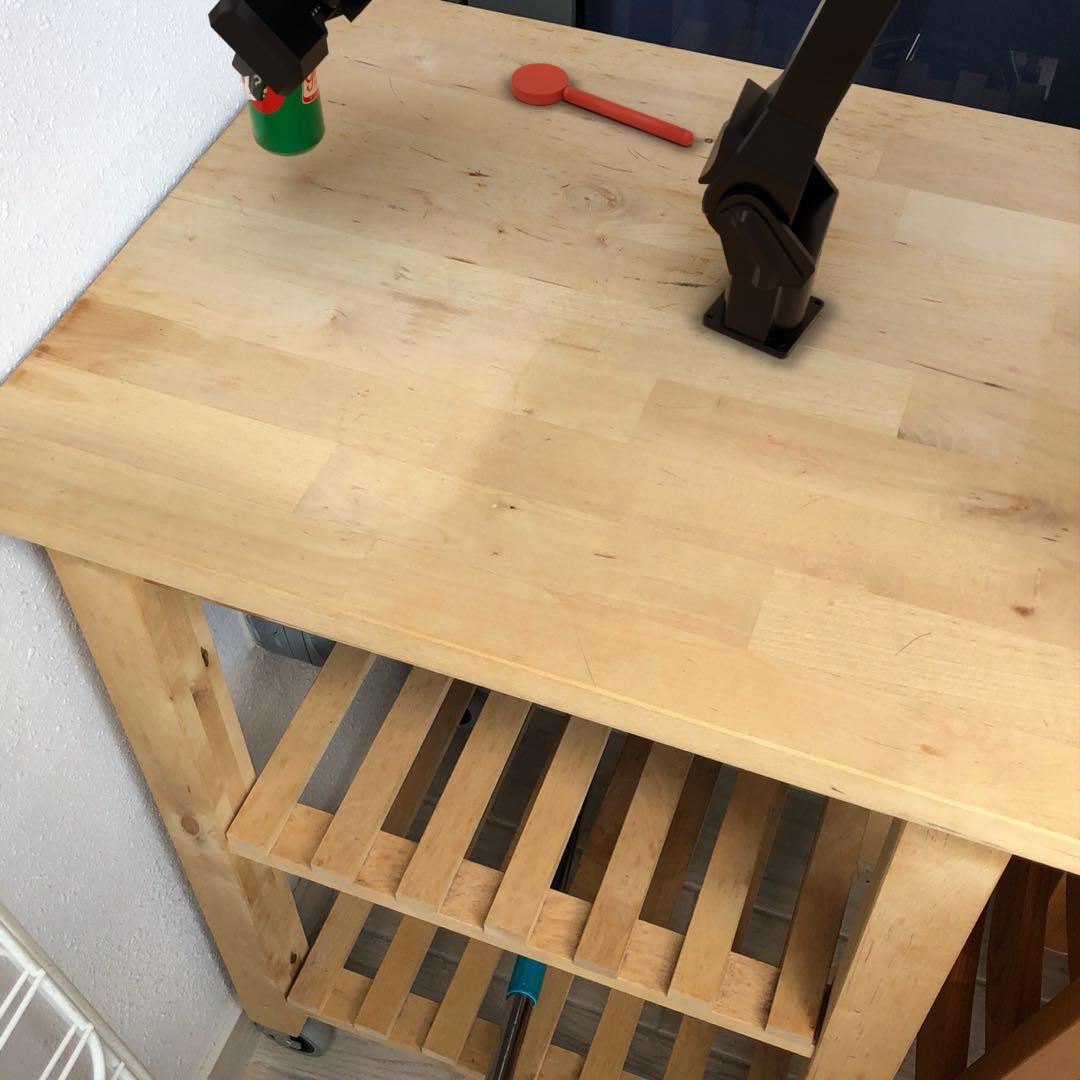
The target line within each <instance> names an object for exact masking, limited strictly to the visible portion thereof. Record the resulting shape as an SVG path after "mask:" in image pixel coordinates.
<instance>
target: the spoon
mask: <svg viewBox="0 0 1080 1080" xmlns="http://www.w3.org/2000/svg"><path fill="white" fill-rule="evenodd" d="M510 81H511V82H510V84H511V85H510V87H511V89H510V90H511V94H512V95H513V96H514V97H515V98H516V99H517V100H519V101H521V102H522V103H526V104H528V105H533V106H547V105H552V104H556V103H558V102H561V101H562V100H563V99H564V100H565V101H566V102H568V103H570V104H573V105H576V106H579V107H581V108H584V109H586V110H589V111H591V112H594V113H597V114H600V115H603V116H605V117H608V118H610V119H613V120H616V121H618V122H621V123H624V124H626V125H628V126H632V127H634V128H636V129H639V130H642V131H644V132H647V133H650V134H653V135H655V136H658V137H661V138H663V139H666V140H668V141H671V142H674V143H676V144H679V145H681V146H684V147H685V146H686V147H687V146H690V145H692V143H694V138H695V136H694V134H693V133H694V132H692V131H691V130H689V129H686V128H684V127H681V126H678V125H676V124H673V123H671V122H668V121H665V120H662V119H660V118H657V117H655V116H652V115H649V114H647V113H644V112H641V111H639V110H635V109H633V108H630V107H628V106H625V105H622V104H620V103H618V102H614V101H611V100H609V99H606V98H604V97H601V96H598V95H595V94H593V93H590V92H588V91H585V90H582V89H580V88H576V87H574V86H572V85H571V86H570V84H569V81H570V79H569V75H568V73H567V72H566V71H565V70H564V69H562V68H561V67H560V66H557V65H554V64H550V63H545V62H533V63H528V64H525V65H522V66H520V67H518V68H516V69H515V70H514V72H513V73H512V74H511V78H510Z"/></svg>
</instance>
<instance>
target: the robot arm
mask: <svg viewBox="0 0 1080 1080" xmlns="http://www.w3.org/2000/svg"><path fill="white" fill-rule="evenodd" d="M902 1H903V0H821V1H820V3H819V4H818V7H817V8H816V10H815V11H814V14H813V15H812V18H811V20H810V21H809V24H808V25H807V27H806V28H805V31H804V33H803V35H802V36H801V38H800V40H799V42H798V44H797V46H796V48H795V50H794V51H793V53H792V56H791V57H790V59H789V61H788V63H787V64H786V66H785V68H784V70H783V71H782V72H781V73H780V75H779V76H777V78H776V79H775V80H774V81H773V82H772V83H771V84H769V86H768V87H767V88H764V87H762V86H761V85H759V84H758V83H757V82H755V80H752V79H751V78H749V77H748V78H746V80H745V82H744V85H743V87H742V89H741V91H740V93H739V96H738V98H737V100H736V102H735V104H734V107H733V109H732V111H731V113H730V116H729V118H728V119H727V120H726V121H725V122H723V123H722V126H721V128H720V130H719V132H718V135H717V136H716V139H715V141H714V144H713V146H712V148H711V150H710V152H709V154H708V157H707V159H706V161H705V164H704V166H703V168H702V170H701V172H700V175H699V177H698V179H697V183H698V184H699V185H707V186H706V188H705V190H704V193H703V196H702V198H701V212H702V214H703V215H705V218H706V220H707V222H708V224H709V226H710V227H711V228H712V229H713V230H714V231H715V232H716V234H717V235H719V239H720V243H721V247H722V251H723V256H724V259H725V262H726V267H727V270H728V271H727V272H728V273H727V279H726V285H725V289H724V290H723V291H722V293H720V295H719V296H718V297H717V298H716V299H715V300H714V302H713V303H712V304H711V305H710V306H709V307H708V308H707V309H706V311H705V312H704V313H703V315H702V319H701V322H702V324H703V325H704V326H706V327H709V328H710V329H712V330H715V331H718V332H720V333H723V334H725V335H727V336H729V337H731V338H734V339H736V340H738V341H740V342H743V343H745V344H747V345H750V346H753V347H755V348H757V349H759V350H761V351H764V352H766V353H769V354H771V355H773V356H776V357H778V358H786V357H788V356H789V354H790V353H791V352H792V351H793V349H794V348H795V347H796V346H797V344H798V343H799V342H800V341H801V339H802V338H803V337H804V335H805V334H806V332H807V331H808V330H809V328H810V327H811V326H812V325H813V323H814V322H815V321H816V320H817V318H818V317H819V316H820V314H821V313H822V312H823V310H824V307H825V301H824V300H823V299H821V298H819V297H816V296H814V295H812V291H813V287H814V284H815V280H816V276H817V272H818V267H819V263H820V258H821V255H822V252H823V250H822V249H823V246H824V243H825V240H826V237H827V234H828V230H829V228H830V224H831V221H832V218H833V215H834V213H835V209H836V206H837V203H838V200H839V197H840V189H838V187H837V186H836V185H835V183H834V181H832V179H831V178H830V176H829V175H828V174H827V173H826V172H825V170H824V169H823V167H822V166H821V165H820V163H819V162H818V161H817V159H816V158H817V155H818V153H819V149H820V148H821V144H822V141H823V139H824V137H825V133H826V130H827V127H828V125H829V124H830V122H831V120H832V119H833V117H834V115H835V113H836V112H837V110H838V108H839V107H840V105H841V103H842V102H843V100H844V98H845V97H846V95H847V93H848V92H849V90H850V88H851V87H852V85H853V83H854V82H855V80H856V78H857V77H858V75H859V73H860V71H861V70H862V68H863V67H864V65H865V63H866V61H867V60H868V58H869V56H870V55H871V53H872V51H873V49H874V48H875V46H876V45H877V43H878V41H879V39H880V38H881V36H882V34H883V33H884V31H885V29H886V28H887V26H888V24H889V22H890V21H891V19H892V18H893V16H894V14H895V12H896V11H897V10H898V8H899V6H900V5H901V2H902ZM371 2H373V0H219V1H217V3H215V5H214V6H213V8H211V10H210V11H209V12H208V13H207V17H208V22H209V26H210V28H211V29H212V30H213V31H214V32H215V33H216V34H217V35H218V36H219V37H220V38H221V39H222V40H223V42H225V43H226V44H227V45H228V47H230V49H232V50H233V52H234V56H233V57H232V58H233V59H232V60H231V66H232V68H233V69H234V70H235V71H236V72H237V73H238V74H239V75H240V76H241V75H242V76H243V77H246V76H254V75H258V76H259V77H260V78H261V79H262V81H263V82H264V83H265V84H266V85H267V86H268V87H269V88H270V89H271V90H272V91H273V92H274V93H275V94H276V95H279V96H284V97H289V96H290V95H291V94H292V93H293V92H294V91H295V90H296V89H297V88H298V87H299V86H300V85H301V84H302V83H303V82H304V81H305V80H306V78H307V77H308V76H309V75H310V74H311V73H312V72H313V71H314V69H315V68H316V69H317V68H318V66H319V65H320V64H321V63H322V62H323V61H324V59H325V58H326V57H327V56H328V55H329V54H330V51H329V45H328V39H327V38H328V37H329V29H328V28H327V26H326V23H327V22H329V21H331V20H334V19H336V18H338V17H342V16H344V17H345V18H346V20H347V21H348V22H349V23H350V24H351V23H353V21H355V20H356V19H357V18H358V17H359V16H360V14H362V12H363V11H364V10H365V9H366V8H367V7H368V6H369V5H370V3H371ZM306 9H307V12H306V11H305V10H306Z"/></svg>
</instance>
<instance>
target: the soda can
mask: <svg viewBox="0 0 1080 1080" xmlns="http://www.w3.org/2000/svg"><path fill="white" fill-rule="evenodd" d="M305 11H306V12H307V9H306V10H305ZM240 78H241V83H242V88H243V92H244V98H245V101H246V106H247V111H248V115H249V121H250V126H251V131H252V135H253V138H254V142H255V144H257V145H258V146H259V147H261V149H263V150H264V151H266V152H267V153H269V154H271V155H274V156H278V157H295V156H301V155H304V154H307V153H308V152H311V151H313V150H314V149H315V148H316V147H317V146H318V145H319V144H320V143H321V141H322V140H323V138H324V137H325V134H326V124H325V118H324V112H323V105H322V99H321V94H320V93H321V92H320V86H319V80H318V74H317V67H316V68H315V69H314V71H313V72H312V73H311V74H310V75H309V76H308V77H307V78H306V80H305V81H304V82H303V83H302V84H301V85H300V86H299V87H298V88H297V89H296V90H295V91H294V92H293V93H292V94H291V95H290V96H289V97H284V96H279V95H276V94H275V93H274V92H273V91H272V90H271V89H270V88H269V87H268V86H267V85H266V84H265V83H264V82H263V81H262V79H261V78H260V77H259V76H258V75H254V76H246V77H243V76H242V75H240Z"/></svg>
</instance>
